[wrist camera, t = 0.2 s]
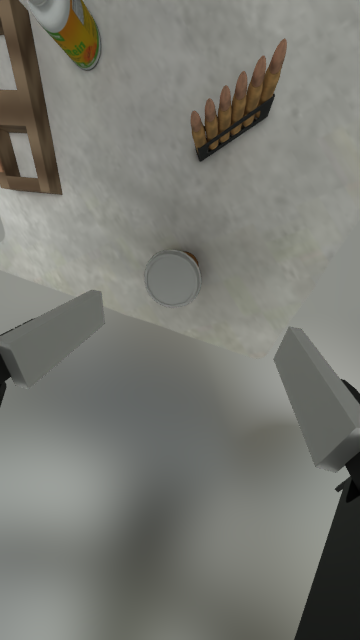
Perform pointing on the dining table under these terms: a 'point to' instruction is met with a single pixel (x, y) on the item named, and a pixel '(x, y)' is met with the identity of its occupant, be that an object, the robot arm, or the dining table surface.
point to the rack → (24, 107)
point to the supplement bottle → (70, 28)
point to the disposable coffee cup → (173, 278)
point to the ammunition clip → (238, 106)
